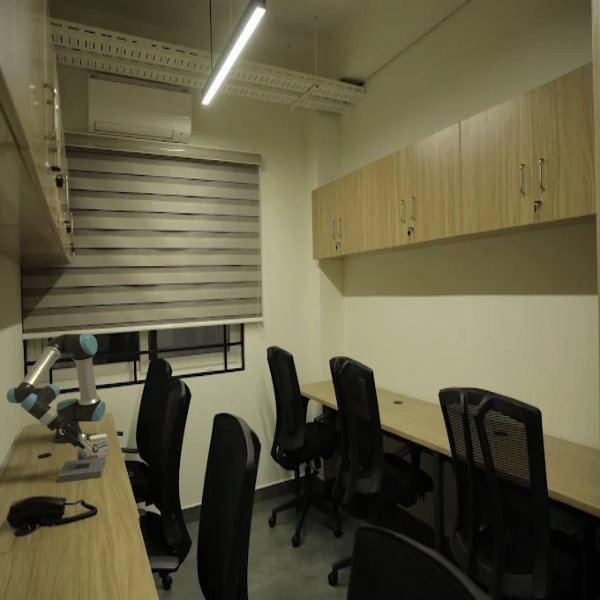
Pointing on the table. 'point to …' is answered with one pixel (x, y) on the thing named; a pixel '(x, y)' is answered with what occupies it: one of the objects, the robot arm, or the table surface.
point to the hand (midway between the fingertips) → (90, 450)
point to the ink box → (99, 446)
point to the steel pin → (81, 453)
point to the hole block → (82, 469)
